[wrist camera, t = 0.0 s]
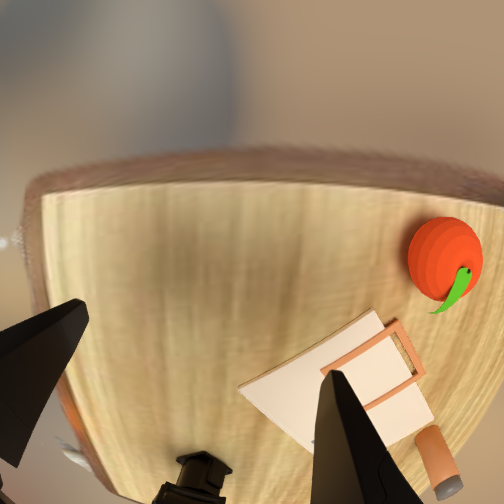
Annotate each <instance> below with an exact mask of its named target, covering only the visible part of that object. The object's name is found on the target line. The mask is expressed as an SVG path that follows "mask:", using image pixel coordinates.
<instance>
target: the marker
mask: <svg viewBox="0 0 504 504" xmlns="http://www.w3.org/2000/svg"><path fill="white" fill-rule="evenodd" d="M415 442H416V444H417V447H418V450H419V452H420V455H421V458H422V460H423V463H424V466H425V469H426V471H427V474H428V477H429V480H430V483H431V486H432V489H433V491H435V494H436V497H437V500H438V501H440V500H444V499H446V498H448V497H450V496H452V495H454V494H455V493H457V492H458V491H459V490H461V489H462V488H463V483H462V481H461V478H460V473H459V471H458V468H457V466H456V464H455V461H454V459H453V457H452V455H451V452H450V450H449V448H448V446H447V444H446V442H445V440H444V437H443V435H442V433H441V431H440V429H439V427H438V426H436V425H433V426H429V427H427V428H425V429H424V430H422V431H421V432H420V433H419V434H418V435H417V436H416V438H415Z"/></svg>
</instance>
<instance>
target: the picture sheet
mask: <svg viewBox="0 0 504 504" xmlns="http://www.w3.org/2000/svg"><path fill="white" fill-rule="evenodd" d="M393 332H396V333H397V335H398V337H399V339H400V341H401V342H402V344H403V346H404V348H405V350H406V351H407V353H408V355H409V357H410V359H411V361H412V363H413V364H414V366H415V368H416V370H417V372H418V373H416V374H415V375H413V376H412V374H411V372H410V371H409V369H408V367H407V365H406V363H405V362H404V360H403V358H402V356H401V355H400V353H399V351H398V349H397V348H396V346H395V344H394V342H393V341H392V339H391V337H390V336H389V335H390V334H392V333H393ZM331 369H334V370H340V371H342V372H343V373H344V375H345V377H346V378H347V380H348V382H349V383H350V385H351V387H352V389H353V390H354V392H355V394H356V395H357V397H358V399H359V401H360V402H361V404H362V406H363V408H364V409H365V411H366V413H367V415H368V416H369V418H370V420H371V422H372V423H373V425H374V427H375V429H376V430H377V432H378V434H379V436H380V437H381V439H382V441H383V443H384V444H385V446H386V447H387V446H389V445H391V444H393V443H395V442H397V441H399V440H400V439H402V438H404V437H406V436H407V435H409V434H411V433H413V432H414V431H416V430H418V429H419V428H421V427H422V426H424V425H426V424H427V423H429V422H430V421H432V420H433V419H434V417H433V415H432V413H431V411H430V409H429V407H428V405H427V403H426V401H425V399H424V397H423V395H422V393H421V391H420V389H419V387H418V385H417V384H416V382H415V381H417V380H418V379H420V378H421V377H422V376H424V375H425V374H426V372H425V370H424V368H423V366H422V364H421V362H420V360H419V358H418V356H417V354H416V352H415V350H414V348H413V346H412V344H411V342H410V340H409V338H408V336H407V335H406V333H405V331H404V329H403V327H402V325H401V323H400V322H399V320H398V319H397V320H396V321H395V322H393V323H392V324H391V325H389V326H388V327H386V328H385V327H384V326H383V324H382V322H381V321H380V319H379V317H378V316H377V314H376V312H375V311H374V309H373V308H370V309H369V310H368V311H366V312H365V313H363V314H362V315H360V316H359V317H357V318H356V319H355V320H353V321H352V322H350V323H349V324H347V325H345V326H344V327H342V328H341V329H339V330H338V331H336V332H335V333H333V334H332V335H330V336H328V337H327V338H325V339H324V340H322V341H320V342H319V343H317V344H315V345H314V346H312V347H310V348H309V349H307V350H305V351H304V352H302V353H300V354H299V355H297V356H295V357H293V358H292V359H290V360H288V361H286V362H284V363H283V364H281V365H279V366H277V367H275V368H274V369H272V370H270V371H268V372H266V373H264V374H262V375H260V376H258V377H256V378H254V379H253V380H251V381H249V382H247V383H245V384H243V385H241V386H238V391H239V392H240V393H241V394H242V395H244V396H245V397H246V398H247V399H248V400H249V401H250V402H251V403H252V404H253V405H254V406H255V407H257V408H258V409H259V410H260V411H261V412H262V413H263V414H264V415H266V416H267V417H268V418H269V419H270V420H271V421H272V422H274V423H275V424H276V425H277V426H278V427H280V428H281V429H282V430H283V431H284V432H286V433H287V434H288V435H289V436H290V437H292V438H293V439H294V440H295V441H297V442H298V443H299V444H300V445H302V446H303V447H304V448H306V449H307V450H308V451H309V452H311V453H312V454H313V455H314V431H315V421H316V414H317V407H318V400H319V392H320V386H321V383H322V381H323V380H324V378H325V377H326V375H327V373H328V372H329V371H330V370H331Z"/></svg>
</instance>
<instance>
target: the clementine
mask: <svg viewBox="0 0 504 504" xmlns="http://www.w3.org/2000/svg"><path fill="white" fill-rule="evenodd" d="M482 264H483V255H482V248H481V244H480V241H479V239H478V237H477V236H476V234H475V233H474V231H473V230H472V228H471V227H470V226H468V225H467V224H466V223H465V222H463V221H461V220H459V219H456V218H454V217H437V218H435V219H432V220H430V221H428V222H427V223H426V224H424V225H423V226H421V227H420V228H419V230H418V231H417V232H416V233H415V235H414V237H413V239H412V241H411V243H410V247H409V250H408V266H409V273H410V276H411V278H412V280H413V282H414V284H415V285H416V287H417V288H418V289H419V290H420V291H421V293H423V294H424V295H426V296H428V297H429V298H431V299H433V300H436V301H441V302H444V303H443V305H442V306H441V307H440V308H439V309H438V310H437V311H435V312H432V314H437V313H440V312H443V311H445V310H446V309H448V308H449V307H450V306H452V305H453V304H454V303H455V302H456V301H457V300H458V299H459V298H461V297H463V296H464V295H466V294H467V293H468V292H469V291H471V289H472V288H473V287H474V286H475V284H476V283H477V281H478V279H479V277H480V274H481V270H482Z"/></svg>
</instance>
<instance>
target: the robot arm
mask: <svg viewBox="0 0 504 504" xmlns="http://www.w3.org/2000/svg"><path fill="white" fill-rule="evenodd" d="M88 322H89V315H88V311H87V307H86V304H85V302H84V301H82V300H80V299H77V298H75V299H72V300H70V301H68V302H65V303H63V304H61V305H58V306H56V307H54V308H52V309H49V310H47V311H45V312H42V313H40V314H38V315H36V316H33V317H31V318H29V319H27V320H24V321H22V322H20V323H18V324H16V325H14V326H11V327H9V328H7V329H5V330H3V331H0V458H2V459H3V460H5V461H6V462H7V463H9V464H11V465H12V466H14V467H15V468H17V467H18V465H19V463H20V460H21V458H22V455H23V453H24V450H25V448H26V446H27V443H28V441H29V439H30V437H31V434H32V431H33V430H34V428H35V425H36V423H37V421H38V419H39V417H40V414H41V413H42V411H43V408H44V407H45V405H46V403H47V401H48V399H49V397H50V395H51V393H52V391H53V389H54V388H55V386H56V384H57V382H58V380H59V378H60V377H61V375H62V373H63V371H64V369H65V368H66V366H67V364H68V362H69V361H70V359H71V357H72V355H73V354H74V352H75V350H76V347H77V345H78V343H79V341H80V339H81V337H82V335H83V333H84V331H85V328H86V326H87V324H88ZM176 461H177V462H178V463H180V464H181V465H182V469H181V472H180V475H179V477H178V480H177V483H176V485H175V484H172V483H170V482H167V481H166V483H165V484H162V486H161V488H160V490H159V492H158V494H157V495H156V497H155V498H154V500H153V501H152V504H225V502H226V497H220V496H219V494H220V489H222V487H223V482H224V478H225V475H228V474H232V472H233V470H231V469H230V468H228V467H227V466H225V465H224V464H222V463H221V462H219V461H218V460H216V459H215V458H213V457H212V456H210V455H209V454H208V453H206V452H199V453H195V454H191V455H187V456H183V457H178V458H177V459H176ZM2 486H3V482H2V479H1V475H0V504H15V503H14V502H13V501H12V500H11V499H10V498H8V497H7V496H6V495H5V494H4V493H3V492H2V491H1V488H2ZM310 504H423V502H422V501H421V499H420V498H419V497H418V495H417V494H416V493H415V491H414V490H413V489H412V487H411V486H410V484H409V483H408V482H407V480H406V479H405V477H404V476H403V474H402V473H401V472H400V470H399V469H398V467H397V465H396V464H395V462H394V460H393V458H392V457H391V455H390V453H389V451H387V448H386V446H385V444H384V443H383V441H382V439H381V437H380V436H379V434H378V432H377V430H376V429H375V427H374V425H373V423H372V422H371V420H370V418H369V416H368V415H367V413H366V411H365V409H364V408H363V406H362V404H361V402H360V401H359V399H358V397H357V395H356V394H355V392H354V390H353V389H352V387H351V385H350V383H349V382H348V380H347V378H346V377H345V375H344V373H343V372H342V371H340V370H334V369H331V370H330V371H329V372H328V373H327V375H326V377H325V378H324V380H323V381H322V383H321V386H320V392H319V400H318V407H317V414H316V421H315V431H314V457H313V475H312V489H311V501H310Z"/></svg>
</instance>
